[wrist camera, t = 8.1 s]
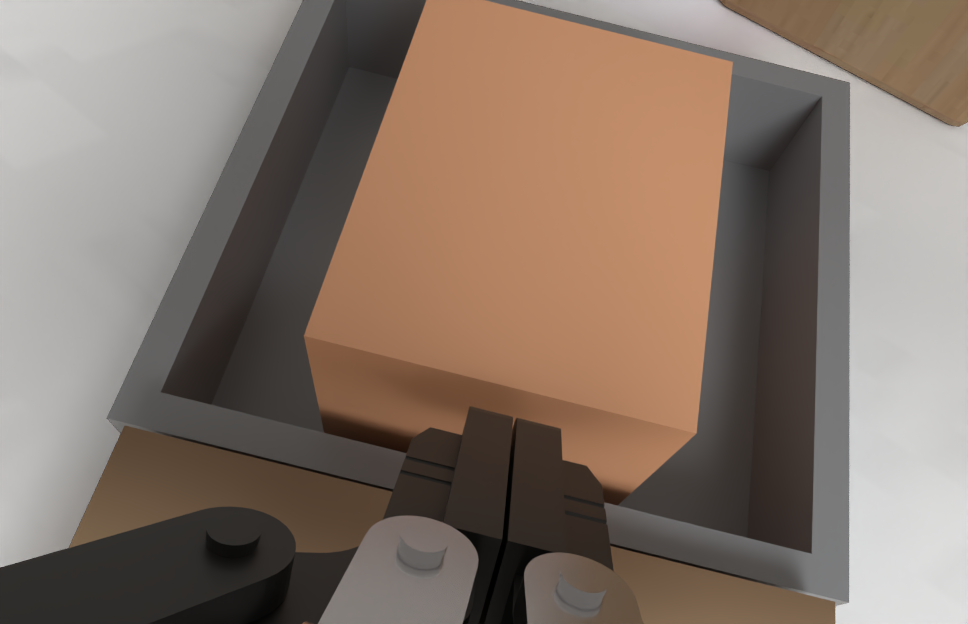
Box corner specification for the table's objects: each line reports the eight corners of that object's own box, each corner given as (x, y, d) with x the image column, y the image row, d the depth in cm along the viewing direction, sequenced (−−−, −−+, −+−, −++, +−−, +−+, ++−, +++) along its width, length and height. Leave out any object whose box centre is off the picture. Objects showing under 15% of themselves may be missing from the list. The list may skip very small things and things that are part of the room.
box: (765, 623, 20) (848, 602, 16) (156, 471, 20) (106, 418, 16) (787, 167, 27) (849, 82, 23) (333, 54, 27) (325, -48, 23)
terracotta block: (696, 433, 14) (733, 61, 18) (303, 335, 14) (431, -13, 18) (599, 521, 20) (643, 230, 24) (328, 454, 20) (418, 174, 24)
